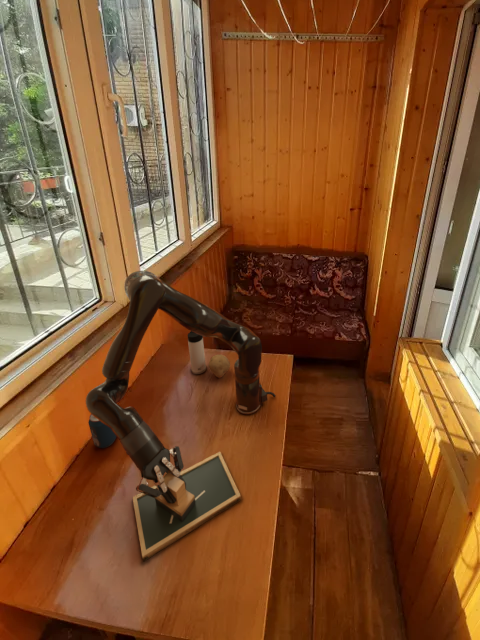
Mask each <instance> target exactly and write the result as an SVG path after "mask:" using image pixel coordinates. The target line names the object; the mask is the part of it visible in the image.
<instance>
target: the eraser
mask: <svg viewBox="0 0 480 640" xmlns="http://www.w3.org/2000/svg"><path fill="white" fill-rule="evenodd" d="M163 478H164V482H165V484H166V486H167V489H169V490H170V492H171V493H172V494H173V496H174V497H175V498H176V502H175V503H173V504H172V503H170V504H169V503H167V501H166V500H165V498H164V497H163V496H162V495H160V496H159V497H155V501H156V504H157V505H159V506H160V507H162V508H163V509H164V510H166V511H167V512H169V513H170V514H172V515H173V516H174V517H176V518H177V519H179V520H180V521H181V522H183V521H184V520H185V518H186V517H187V515H188V514H189V513H190V511H191V510H192V508H193V507H194V506H195V504H196V503H195V496H194V495H193V494H191V493H190V492H188V491H187V490H186V489H185V483H184V481H182V480H181V479H179V478H177V477H176V476H174V475H173V474H171V473H169V472H168V473H165V474H164V475H163Z"/></svg>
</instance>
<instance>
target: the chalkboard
mask: <svg viewBox="0 0 480 640" xmlns="http://www.w3.org/2000/svg"><path fill="white" fill-rule="evenodd" d="M180 475H181V477H182V478H183V479H184V481H185V482H186V490H187V491H188V492H190V493H191V494H193V495H194V496H195V503H196V504H195V506H194V507H193V508H192V510H191V511H190V513H189V514H188V515H187V517H186V518H185V520H184V521H183V522H181V521H180V520H179V519H177V518H176V517H174V516H173V515H172V514H170V513H169V512H167V511H166V510H164V509H163V508H162V507H160V506H159V505H157V504H156V501H155V498H153V497H150V496H148V495H146V494H143V493H141V492H139V493H138V494H136V495H134V496H132V503H133V509H134V516H135V521H136V526H137V534H138V539H139V545H140V554H141V558H142V562H145V561H146V560H149V559H150V558H152V557H153V556H155V555H157V554H158V553H160V552H162V551H163V550H164V549H166V548H168V547H170V545H172V544H174V543H176V542H177V541H179V540H180V539H182V538H183V537H185V536H186V535H188V534H191V532H193V531H194V530H196V529H198V528H200V527H201V526H202V525H204V524H205V523H208V522H209V521H210V520H212V519H213V518H215V517H217V516H218V515H220V514H222V513H223V512H225V511H227V510H228V509H229V508H231V507H233V506H234V505H236V504H237V503H239V502H240V501H241V500H242V498H241V497H242V496H241V493H240V491H239V489H238V487H237V485H236V483H235V481H234V478H233V476H232V474H231V471H230V470H229V468H228V465H227V463H226V461H225V459H224V457H223V454H222V452H221V451H218V452H216V453H214V454H212V455H210V456H208V457H207V458H204V459H203V460H201V461H199V462H197V463H195V464H193V465H191V466H189V467H188V468H185V469H183V470H181V472H180ZM150 487H151V488H153V489H156V490H158V489H157V486H155V485H153V486H150Z"/></svg>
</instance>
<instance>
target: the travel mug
mask: <svg viewBox="0 0 480 640" xmlns="http://www.w3.org/2000/svg"><path fill="white" fill-rule="evenodd" d="M187 344H188V352H189V361H190V369H191V373H192V374H193V375H201V374H203V373H204V372H205V371H206V370H207V365H206V355H205V346H204V336H201V335H199V334H196V333H194V332H192V331H190V330H189V333H187Z"/></svg>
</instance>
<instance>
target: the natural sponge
mask: <svg viewBox="0 0 480 640" xmlns="http://www.w3.org/2000/svg"><path fill="white" fill-rule="evenodd" d="M230 368H231V361H230V359H228V357H227V356H225V355H224V354H215V355H213V356H212V357H211V358H210V359H209V361H208V369H209V370H210V372H211V373H212V375H214V376H215V377H216V378H223V377H224V375H225V374H226V373H227V372H228V371H229V370H230Z"/></svg>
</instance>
